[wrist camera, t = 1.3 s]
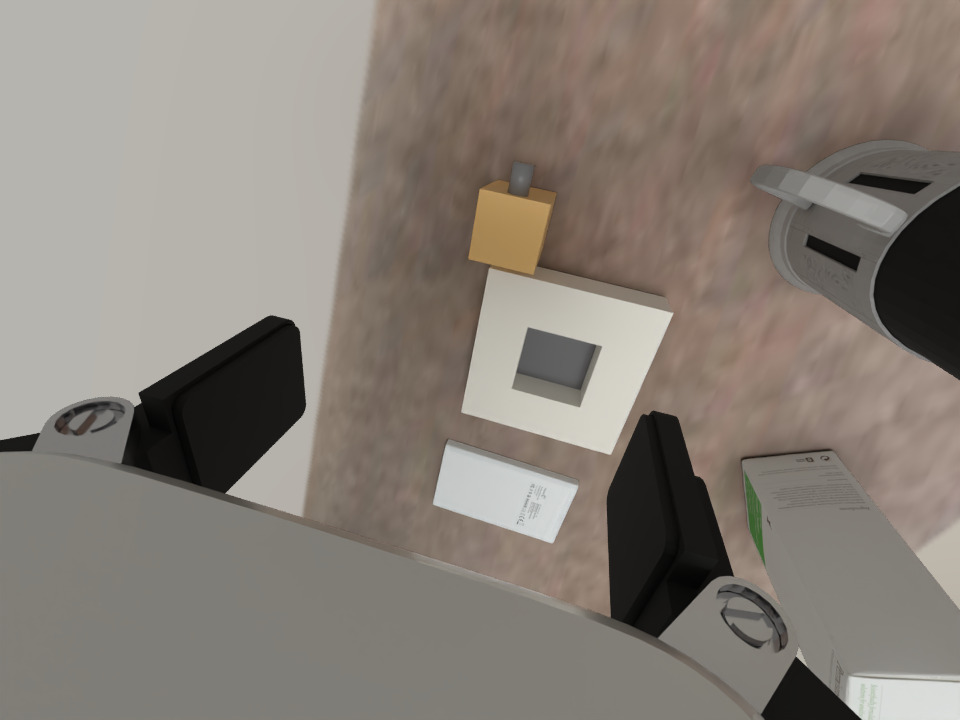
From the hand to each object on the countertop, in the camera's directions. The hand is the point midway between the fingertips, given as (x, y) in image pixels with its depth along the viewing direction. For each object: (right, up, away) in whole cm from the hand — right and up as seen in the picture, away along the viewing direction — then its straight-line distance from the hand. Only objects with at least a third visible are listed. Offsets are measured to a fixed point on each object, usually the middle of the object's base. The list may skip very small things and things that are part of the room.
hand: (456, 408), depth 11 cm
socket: (+7, +2, +21) cm, 22 cm away
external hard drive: (+3, -11, +30) cm, 32 cm away
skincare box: (+26, -9, +23) cm, 35 cm away
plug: (+3, +11, +17) cm, 21 cm away
